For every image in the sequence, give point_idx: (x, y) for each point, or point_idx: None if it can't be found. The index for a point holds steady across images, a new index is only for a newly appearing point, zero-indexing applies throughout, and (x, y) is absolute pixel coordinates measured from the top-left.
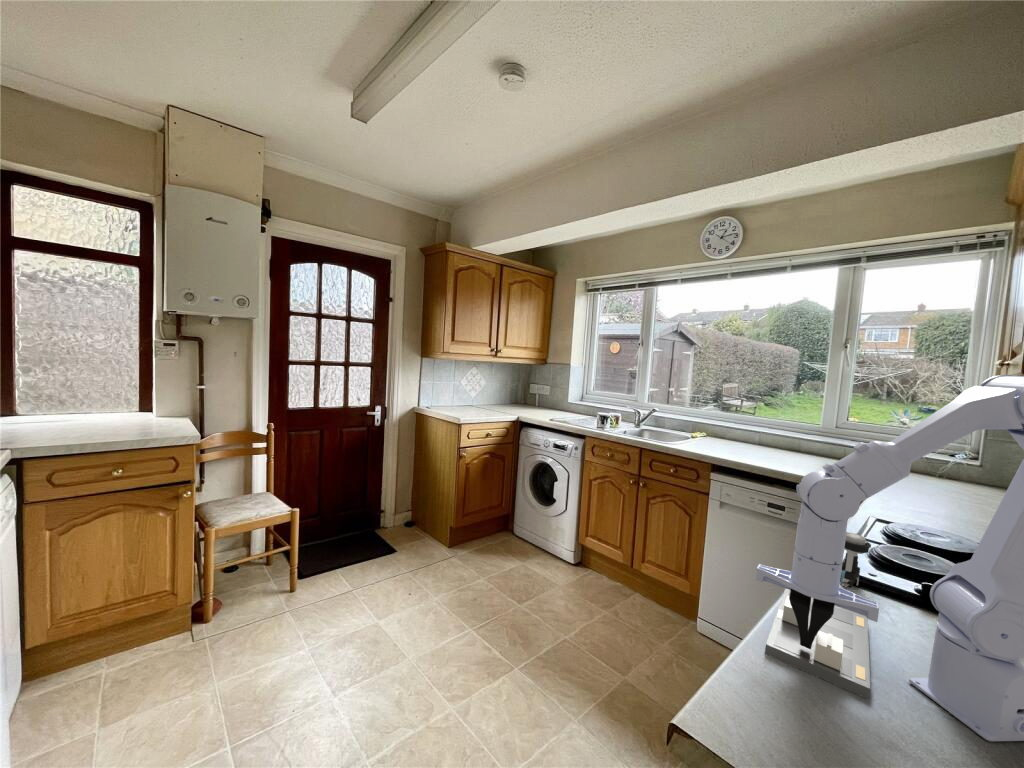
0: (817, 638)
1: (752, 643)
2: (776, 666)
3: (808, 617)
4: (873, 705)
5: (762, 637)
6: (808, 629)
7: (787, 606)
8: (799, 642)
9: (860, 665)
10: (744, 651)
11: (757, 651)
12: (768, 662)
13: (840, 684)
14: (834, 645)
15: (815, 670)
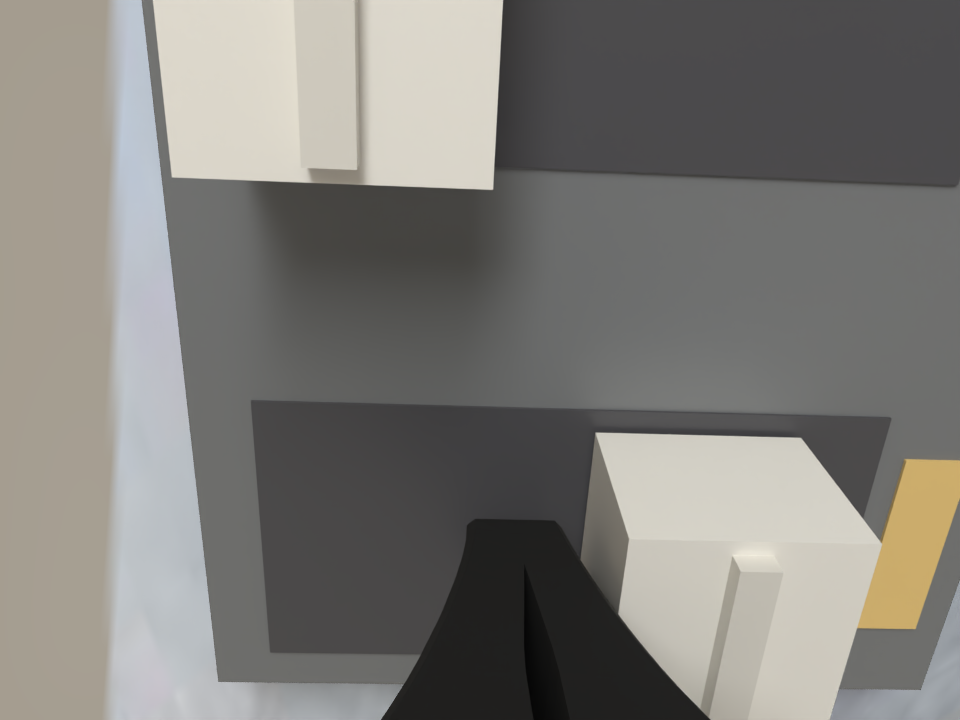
0: None
1: (127, 554)
2: (338, 692)
3: (524, 673)
4: None
5: (161, 409)
6: (528, 640)
7: (222, 175)
8: (455, 472)
9: (943, 442)
10: (119, 684)
11: (190, 624)
12: (285, 688)
13: None
14: (762, 711)
15: None
